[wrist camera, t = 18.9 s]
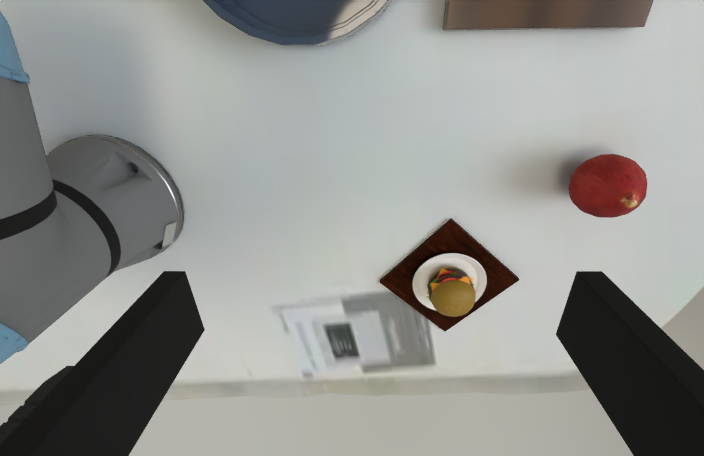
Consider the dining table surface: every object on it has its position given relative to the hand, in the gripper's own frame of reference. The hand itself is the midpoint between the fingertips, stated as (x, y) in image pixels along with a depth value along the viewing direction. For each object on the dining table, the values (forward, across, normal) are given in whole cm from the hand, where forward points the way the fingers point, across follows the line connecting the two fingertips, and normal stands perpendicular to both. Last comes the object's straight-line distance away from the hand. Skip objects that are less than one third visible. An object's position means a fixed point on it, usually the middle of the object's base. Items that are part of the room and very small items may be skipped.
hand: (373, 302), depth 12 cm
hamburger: (+26, +9, -18) cm, 33 cm away
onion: (+26, +22, -4) cm, 34 cm away
